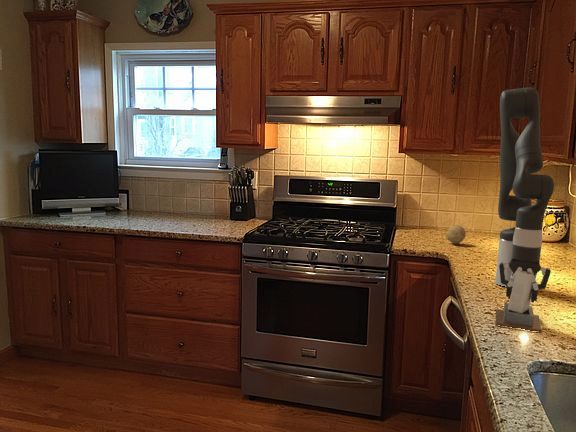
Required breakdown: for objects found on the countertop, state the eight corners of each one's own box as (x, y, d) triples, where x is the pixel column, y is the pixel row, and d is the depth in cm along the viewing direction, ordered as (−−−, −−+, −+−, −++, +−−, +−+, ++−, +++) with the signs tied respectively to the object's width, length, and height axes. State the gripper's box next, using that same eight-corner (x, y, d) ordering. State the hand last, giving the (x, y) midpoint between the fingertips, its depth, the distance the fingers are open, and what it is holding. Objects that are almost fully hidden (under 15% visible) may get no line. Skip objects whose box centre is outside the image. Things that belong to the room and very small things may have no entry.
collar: (495, 312, 160) (496, 299, 160) (538, 318, 156) (539, 305, 155) (495, 325, 148) (496, 312, 148) (541, 333, 144) (542, 319, 143)
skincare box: (514, 305, 155) (522, 266, 153) (529, 310, 152) (537, 271, 150) (506, 309, 151) (514, 269, 148) (522, 314, 148) (531, 274, 146)
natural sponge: (466, 247, 256) (468, 227, 254) (447, 245, 257) (449, 226, 256) (463, 243, 265) (464, 224, 263) (445, 242, 266) (446, 223, 265)
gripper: (500, 243, 148) (494, 300, 150) (556, 248, 142) (549, 307, 145) (500, 238, 154) (494, 293, 157) (553, 244, 149) (547, 300, 152)
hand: (521, 299), depth 151 cm, fingers closed on skincare box, 5 cm apart
